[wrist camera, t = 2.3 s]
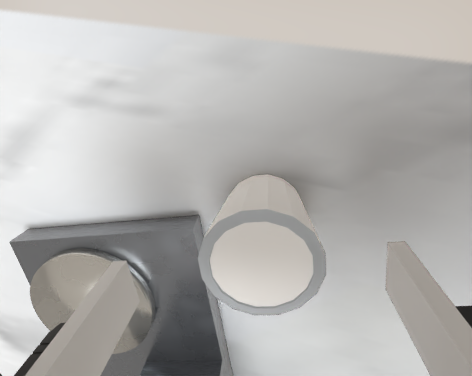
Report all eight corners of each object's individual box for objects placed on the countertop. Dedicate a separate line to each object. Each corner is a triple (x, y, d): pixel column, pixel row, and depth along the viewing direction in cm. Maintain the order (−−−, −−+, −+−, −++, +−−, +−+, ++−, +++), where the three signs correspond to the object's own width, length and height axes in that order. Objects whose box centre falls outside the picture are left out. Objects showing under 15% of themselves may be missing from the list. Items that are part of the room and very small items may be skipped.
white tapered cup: (330, 217, 22) (354, 279, 16) (257, 263, 24) (252, 335, 18) (271, 146, 21) (270, 183, 14) (200, 202, 23) (171, 256, 16)
